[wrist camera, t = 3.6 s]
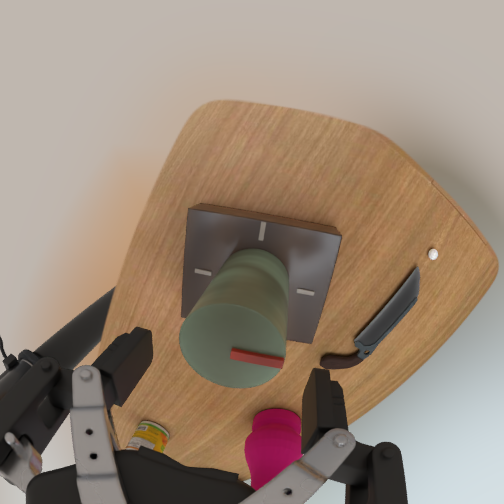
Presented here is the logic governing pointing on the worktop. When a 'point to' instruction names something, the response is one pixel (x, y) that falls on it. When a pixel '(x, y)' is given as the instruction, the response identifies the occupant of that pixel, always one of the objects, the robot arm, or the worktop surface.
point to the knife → (379, 325)
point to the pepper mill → (272, 444)
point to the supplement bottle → (149, 437)
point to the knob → (240, 322)
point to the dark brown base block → (271, 240)
